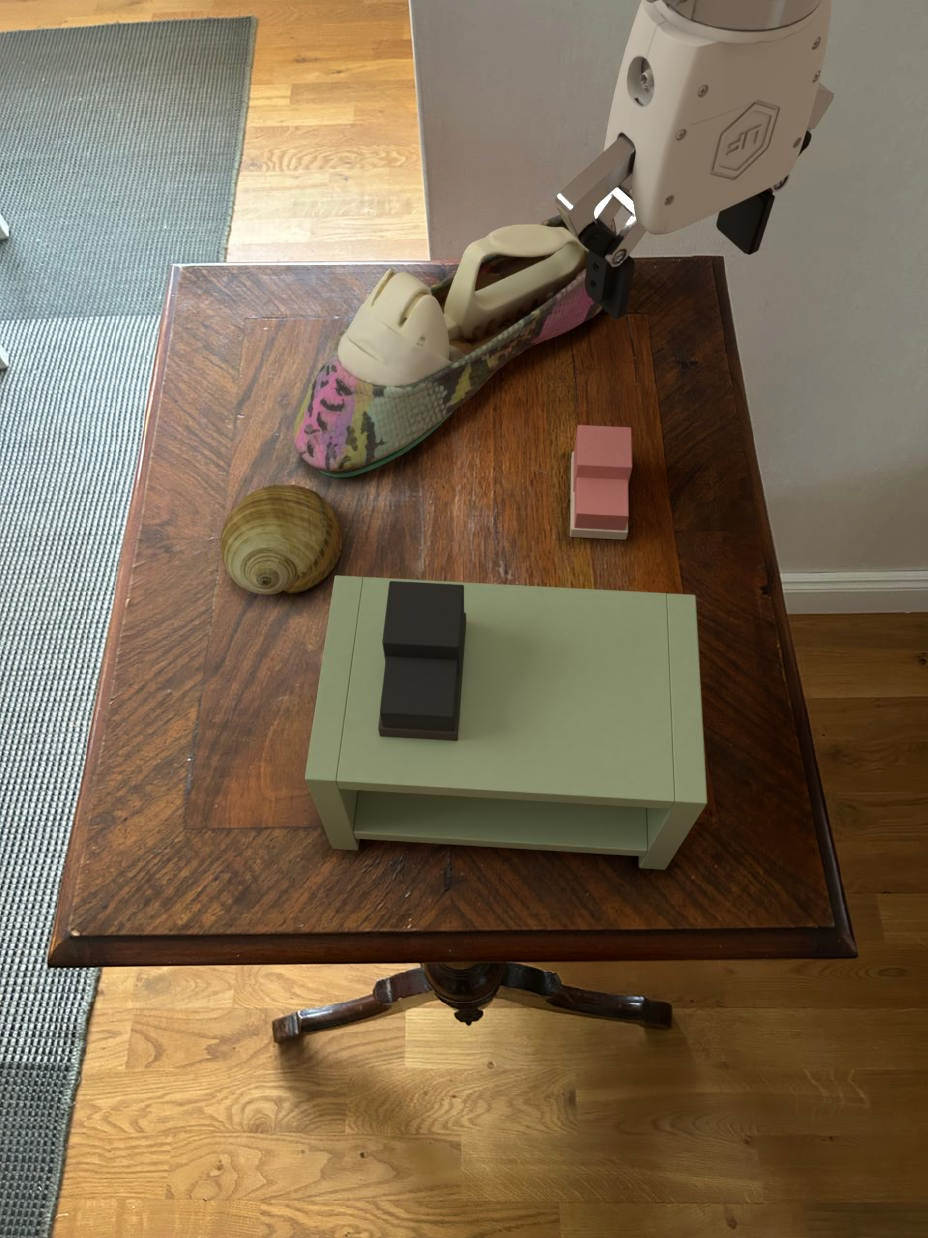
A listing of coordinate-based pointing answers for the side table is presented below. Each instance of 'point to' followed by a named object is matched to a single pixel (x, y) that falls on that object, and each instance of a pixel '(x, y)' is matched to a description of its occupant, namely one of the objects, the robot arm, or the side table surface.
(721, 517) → the side table surface
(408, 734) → the black stepped block
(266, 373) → the side table surface
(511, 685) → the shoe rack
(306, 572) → the seashell
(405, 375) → the ballet flat
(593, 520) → the pink stepped block
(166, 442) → the side table surface
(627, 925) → the side table surface
